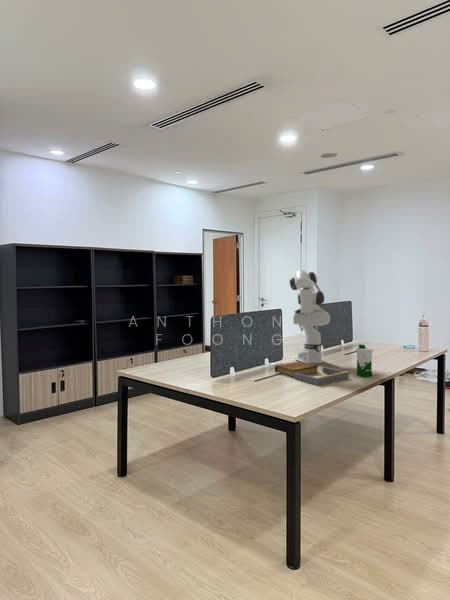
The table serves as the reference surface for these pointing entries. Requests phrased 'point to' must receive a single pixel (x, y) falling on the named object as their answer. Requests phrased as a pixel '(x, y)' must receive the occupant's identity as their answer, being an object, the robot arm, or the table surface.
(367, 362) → the milk carton
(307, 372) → the diary
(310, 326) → the robot arm
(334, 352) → the table surface
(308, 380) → the bay
